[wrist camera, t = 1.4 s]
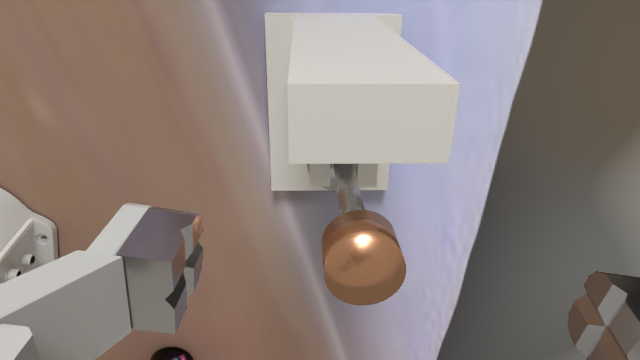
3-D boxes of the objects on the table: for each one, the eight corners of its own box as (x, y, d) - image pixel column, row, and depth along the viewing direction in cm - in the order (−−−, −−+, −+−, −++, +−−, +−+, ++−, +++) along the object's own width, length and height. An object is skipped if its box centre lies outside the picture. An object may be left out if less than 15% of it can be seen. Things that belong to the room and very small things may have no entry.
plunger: (372, 183, 41) (414, 315, 26) (306, 184, 40) (309, 317, 26) (377, 120, 38) (427, 224, 23) (305, 120, 38) (309, 226, 23)
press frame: (384, 182, 57) (460, 385, 30) (272, 183, 56) (246, 390, 29) (398, 13, 48) (524, 84, 21) (266, 12, 47) (220, 83, 21)
